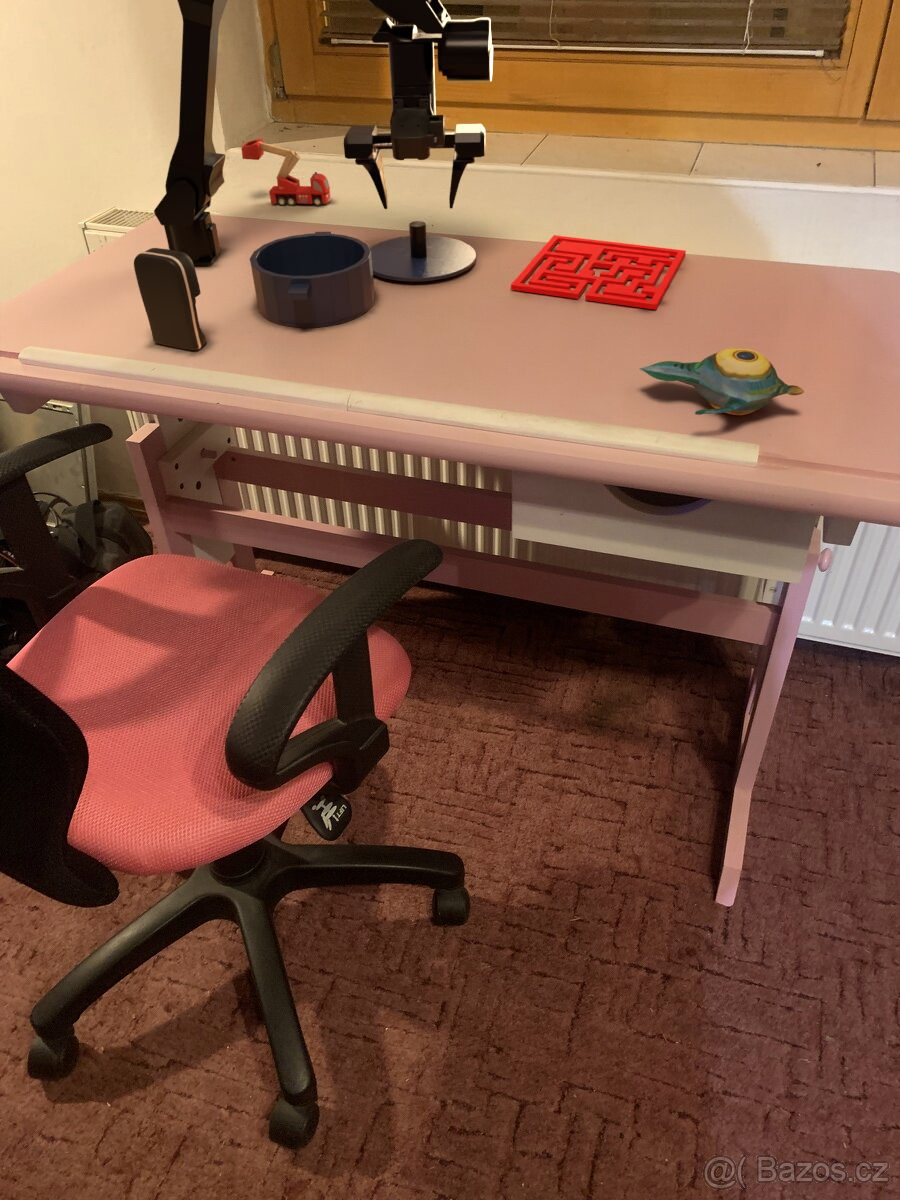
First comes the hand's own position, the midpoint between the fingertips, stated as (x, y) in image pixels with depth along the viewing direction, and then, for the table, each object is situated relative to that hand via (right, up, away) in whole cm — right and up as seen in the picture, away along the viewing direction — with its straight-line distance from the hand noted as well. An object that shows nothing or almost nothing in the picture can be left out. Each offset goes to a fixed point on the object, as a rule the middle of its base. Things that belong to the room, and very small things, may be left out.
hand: (418, 208), depth 124 cm
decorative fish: (+33, -34, -27) cm, 55 cm away
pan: (-14, -15, -5) cm, 21 cm away
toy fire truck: (-23, +12, +27) cm, 37 cm away
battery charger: (-29, -23, -13) cm, 39 cm away
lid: (0, -5, +5) cm, 7 cm away
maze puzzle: (+26, -9, +1) cm, 27 cm away
